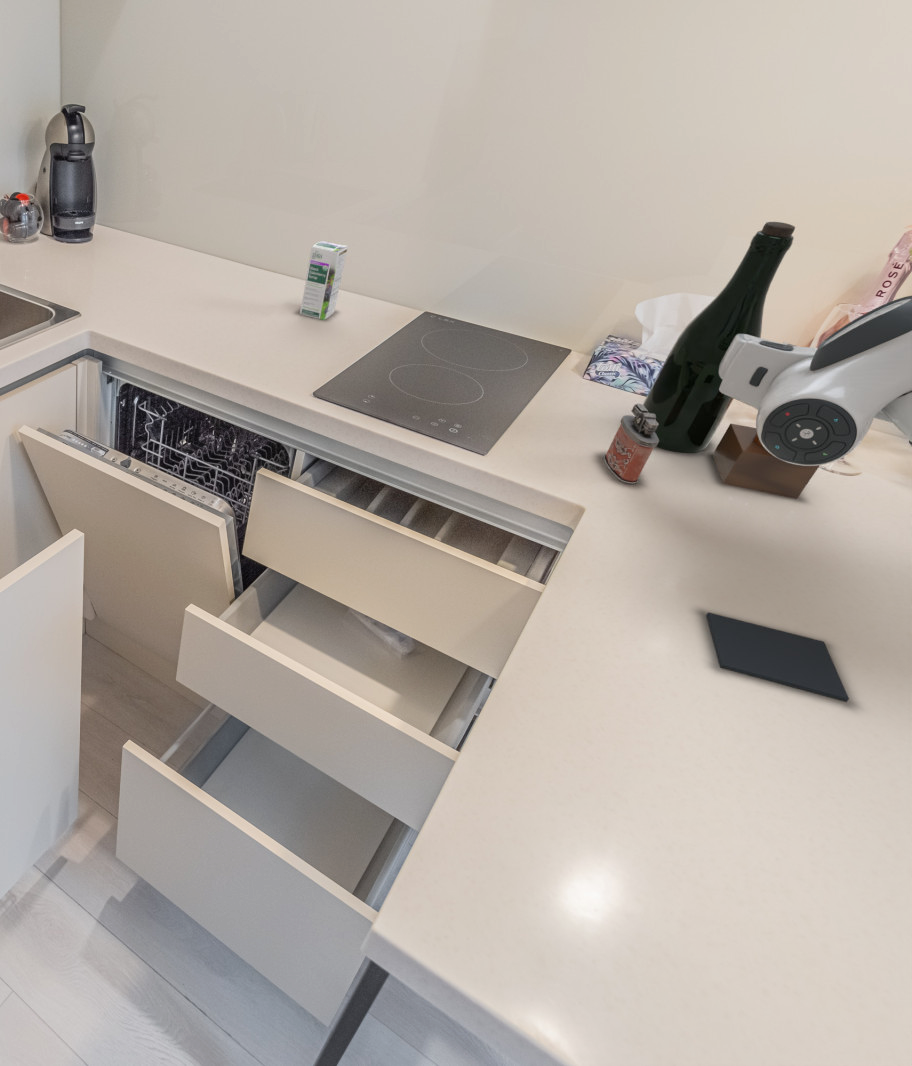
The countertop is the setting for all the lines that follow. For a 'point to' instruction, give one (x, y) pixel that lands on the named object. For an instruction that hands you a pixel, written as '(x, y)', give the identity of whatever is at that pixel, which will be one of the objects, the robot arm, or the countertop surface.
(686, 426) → the dark green wine bottle
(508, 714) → the countertop surface
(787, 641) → the rubber mat
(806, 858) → the countertop surface
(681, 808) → the countertop surface
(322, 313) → the syrup box
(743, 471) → the shelf
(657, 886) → the countertop surface
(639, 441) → the lighter
